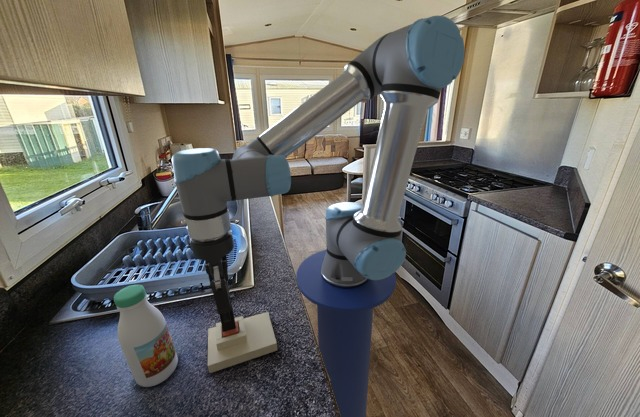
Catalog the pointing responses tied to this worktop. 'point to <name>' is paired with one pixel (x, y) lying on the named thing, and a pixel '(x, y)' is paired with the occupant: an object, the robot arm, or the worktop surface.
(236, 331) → the red switch button
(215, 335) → the light switch
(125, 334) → the milk bottle
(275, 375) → the worktop surface
